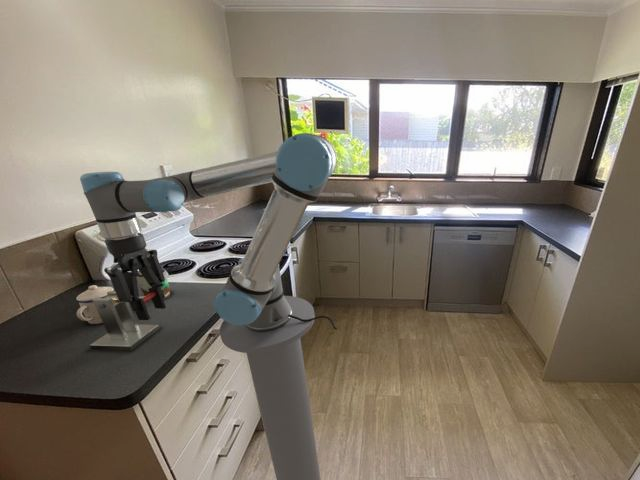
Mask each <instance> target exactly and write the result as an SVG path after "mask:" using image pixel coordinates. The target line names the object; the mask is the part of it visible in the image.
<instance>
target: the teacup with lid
mask: <svg viewBox="0 0 640 480" xmlns="http://www.w3.org/2000/svg"><path fill="white" fill-rule="evenodd" d="M109 291H115V289H114V287H113V286H98V285H95V284H92V285H89V286H88V289H87V290H85V291H83V292H81V293H79V294H78V295H77V296H76V300H75V301H76V303H78V304H79V308H78V309H77V310H76V317H77V318H78V319H79V320H80V321H82V322H87V323H88V324H90V325H98V324H103V322H102V320H101V317H100V315H99V313H98V311H97V309H96V306H95V304H94V302H93V300H94V299H95V298H105V297H107V296H108V295H107V292H109Z"/></svg>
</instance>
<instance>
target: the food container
mask: <svg viewBox="0 0 640 480" xmlns="http://www.w3.org/2000/svg"><path fill="white" fill-rule="evenodd" d="M161 269H162V272H163V275H164V277H165V281H164V282H162V283H163V284H164V286H163V287H161V290H162V293H163V296H162V297H163V300H166V299H169V297H170V296H171V290H170V285H169V280H168V277H169V273H168V271H167V270H166V269H165V268H163V267H161ZM136 276H137V284H138V288H139V289H140V291H141V294H142V295H143V296H147V295H148V294H150V293H149V290H148V289H149V288H152V287H150V285H149V284H148V283H147V281H146V280H145V278H144V277H143V275H142V274H141V273H140V271H139V270H138V274H137V275H136ZM158 278H159V277H158Z"/></svg>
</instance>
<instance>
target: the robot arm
mask: <svg viewBox="0 0 640 480" xmlns="http://www.w3.org/2000/svg"><path fill="white" fill-rule="evenodd" d="M337 164H338V155H337V151H336V149H335V146H334V145H333V144H332V143H331V141H330V140H329V139H327V138H326V137H324V136H322V135H319V134H312V133H306V132H303V133H302V132H301V133H297V134H293V135H291V136H290V137H288V138H287V139H285V140H284V141H283V142H282V143H281V144H280V145H279V147H278V150H277V151H273V152H269V153H264V154H260V155H256V156H251V157H247V158H242V159H238V160H235V161H229V162H225V163H221V164H216V165H212V166H208V167H205V168H200V169H195V170H191V171H187V172H186V171H185V172H181V173H177V174H172V175H168V176H167V175H166V176H162V177H157V178H152V179H143V180H142V179H141V180H125V178H124V177H123V175H122V173H121V172H119V171H98V172H88V173H83V174H82V175H80V178H79V180H80V183H81V186H82V187H81V188H82V190H83V195H84V196H85V198H86V200H87V202H88V204H89V207H90V209H91V211H92V214H93V216H94V218H95V221H96V224H97V226H98V229H99V232H100V233H101V236H102V238H104V244H105V246H106V249H107V251H108V253H109V254H110V255H112V257H113V264H112V265H111V266H110V267H105V268H104V269H103V272H104V273H105V274H106V275H107V276H108V277H109V279H110V282H111V284H112V288H113V289H114V290H115V292H116V294H117V297H118V299H119V301H120V302H129V304H130V307H131V309H132V312H133V313H135V314H136V317H137V319H138V321H149V320H150V319H151V317H150V314H149V311H148V309H147V306H146V303H144V301H143V298H139V297H140V295H139V294H140V293H139V285H138V283H137V276H136V275H137V274H138V271H140V273H141V274H142V275H143V277H144V278H145V280H146V281H147V283H148V284H149V285H150V287H152V288H149V289H148V290H149V293H151V292H155V293H156V294H157V295H156V296H155V297H153V298H152V299H151V301H152V304H153V306H154V309H161V310H162V309H163V310H165V309H166V308H167V305H166V303H165V299H163V297H162V296H163V293H162V290H161V287H163V286H164V284H163V283H162V282H164V281H165V277H164V275H163V272H162V269H161V268H162V267H161V264H160V261H159V258H158V250H157V249H147V248H146V247H147V242H146V240H145V237H144V234H143V233H142V228H141V225H140V222H139V219H138V217H137V214H136V213H161V214H163V213H169V212H177V211H179V210H181V209H182V206H183V205H184V204H185V203H187V202H191V201H196V200H199V199H204V198H208V197H213V196H217V195H220V194H226V193H230V192H234V191H239V190H243V189H248V188H253V187H257V186H261V185H266V184H270V183H272V184H273V187H274V190H273V191H272V193H271V196H270V197H269V200H268V203H267V205H266V207H265V209H264V211H263V214H262V216H261V218H260V220H259V223H258V225H257V227H256V229H255V232H254V234H253V236H252V238H251V240H250V243H249V246H248V248H247V250H246V253H245V254H244V257H243V258H240V259H239V260H238V261H237V265H234V266H233V268H232V269H231V271H230V273H229V275H228V278H227V280H226V282H225V285H224V287H223V288H222V290H220V291H219V292H217V294H216V296H215V298H214V299H213V300H214V301H213V308H214V311H215V313H216V314H218V317H219V318H220V319H222V320H223V321H224V320H225V321H226V322H228V323H231V324H234V325H246V327H247V328H248V329H249V330H252V331H256V332H265V331H271V330H274V329H277V328H279V327H281V326H283V325H285V324H286V323H287V322H288V321H289V320H290V319H291V317H292V318H295V319H298V320H300V321H304V322H307V321H312V320H314V321H315V320H317V319H321V318H323V319H327V320H328V321H329V322H330V323H331V326H332V327H333V329H334V330H335V331H336V330H338V328H337V327H336V325H335V322H334V321H333V319H332V318H331V317H330V316H328V315H319V316H318V315H317V316H315V317H314V318H312V319H307V320H304V319H301V318H298V317H295V316H292V310H291V307H290V305H289V304H288V302H287V300H286V299H285V297H284V296H285V294H284V288H283V283H282V277H281V270H280V262H281V261H282V259H283V257H284V254H285V252H286V251H287V248H288V246H289V244H290V242H291V241H292V238H293V236H294V235H295V233H296V231H297V228H298V226H299V224H300V222H301V221H302V218H303V216H304V214H305V212H306V210H307V208H308V206H309V205H310V204H313V203H316V202H317V201H318V200H319V198H320V196H321V194H322V192H323V190H324V188H325V186H326V184H327V182H328V181H329V178H330V177H331V176H332V175H333V173H334V172H335V170H336V168H337ZM158 277H159V278H158Z"/></svg>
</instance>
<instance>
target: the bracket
mask: <svg viewBox="0 0 640 480" xmlns="http://www.w3.org/2000/svg"><path fill="white" fill-rule="evenodd" d="M107 295H108V296H112V295H117V294H116V292H115V291H109V292H107ZM93 302H94V304H95V306H96V309H97V311H98V313H99V315H100V317H101V320H102V322H103V323H102V324H103V326H104V328H105V330H106V333H105V334H104V335H103V336H101V337H100V338H98V339H96V340H95V341H94V342H92V343H91V344H89V347H90V349H91V350H98V351H99V350H103V351H133V350H135V349H136V348H138V346H140V345H142V344H143V343H144V342H145V341H146V340H148V339H149V338H150V337H151V336H153V334H155V333H156V332H157V331H158V330H160V326H159V324H139V323H138V322H137V319H136V317H135V314H134V311H133V310H132V308H131V305H130V303H129V302H124V303H119V304H117V305H116V306H114V304H113V302H112V299H111V298H95V299H94V300H93Z"/></svg>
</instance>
